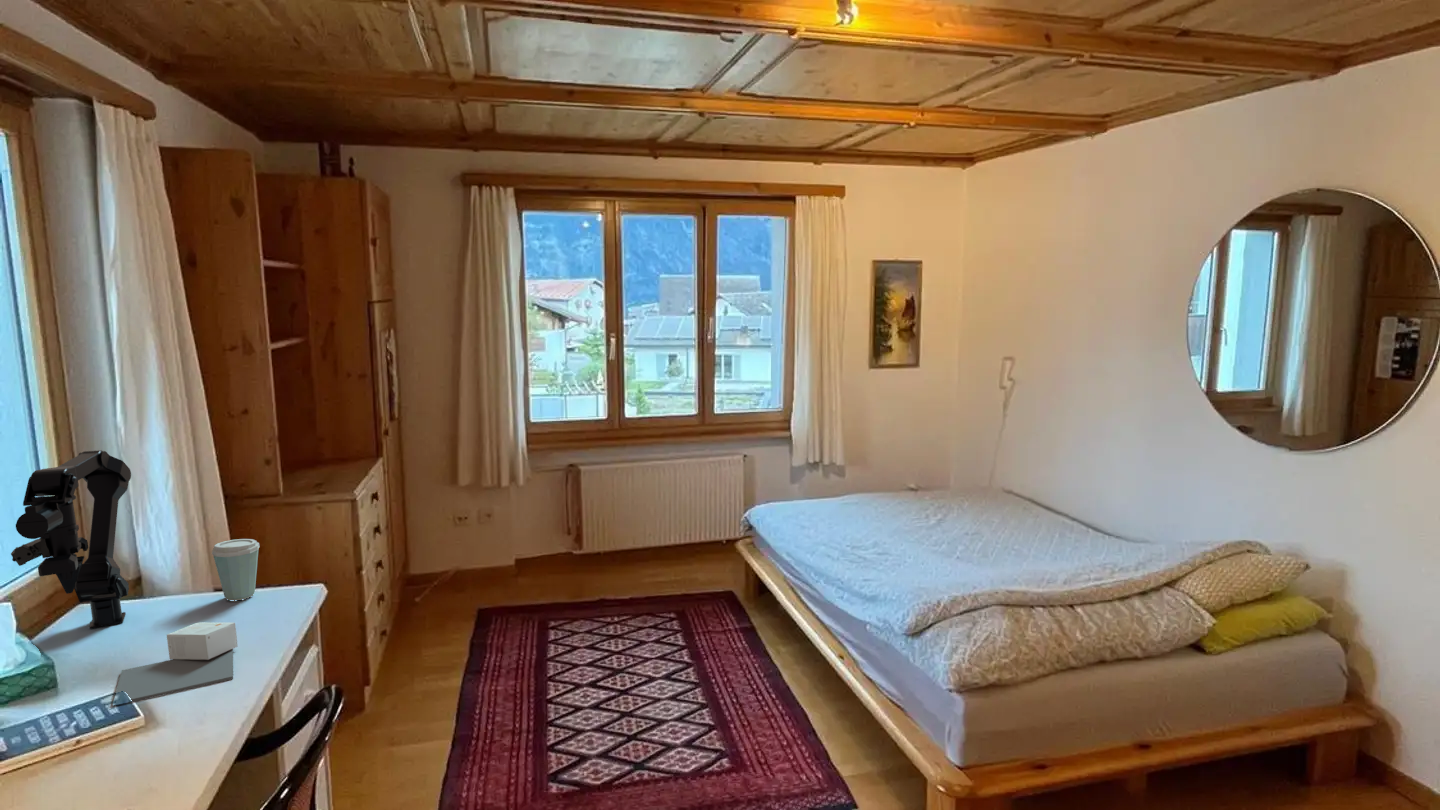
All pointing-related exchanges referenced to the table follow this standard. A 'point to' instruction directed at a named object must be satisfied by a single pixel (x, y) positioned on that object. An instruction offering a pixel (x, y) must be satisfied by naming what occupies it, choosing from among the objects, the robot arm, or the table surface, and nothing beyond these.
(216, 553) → the disposable coffee cup
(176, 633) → the small box
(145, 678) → the charcoal mat
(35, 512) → the robot arm
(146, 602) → the table surface
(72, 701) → the table surface
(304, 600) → the table surface
